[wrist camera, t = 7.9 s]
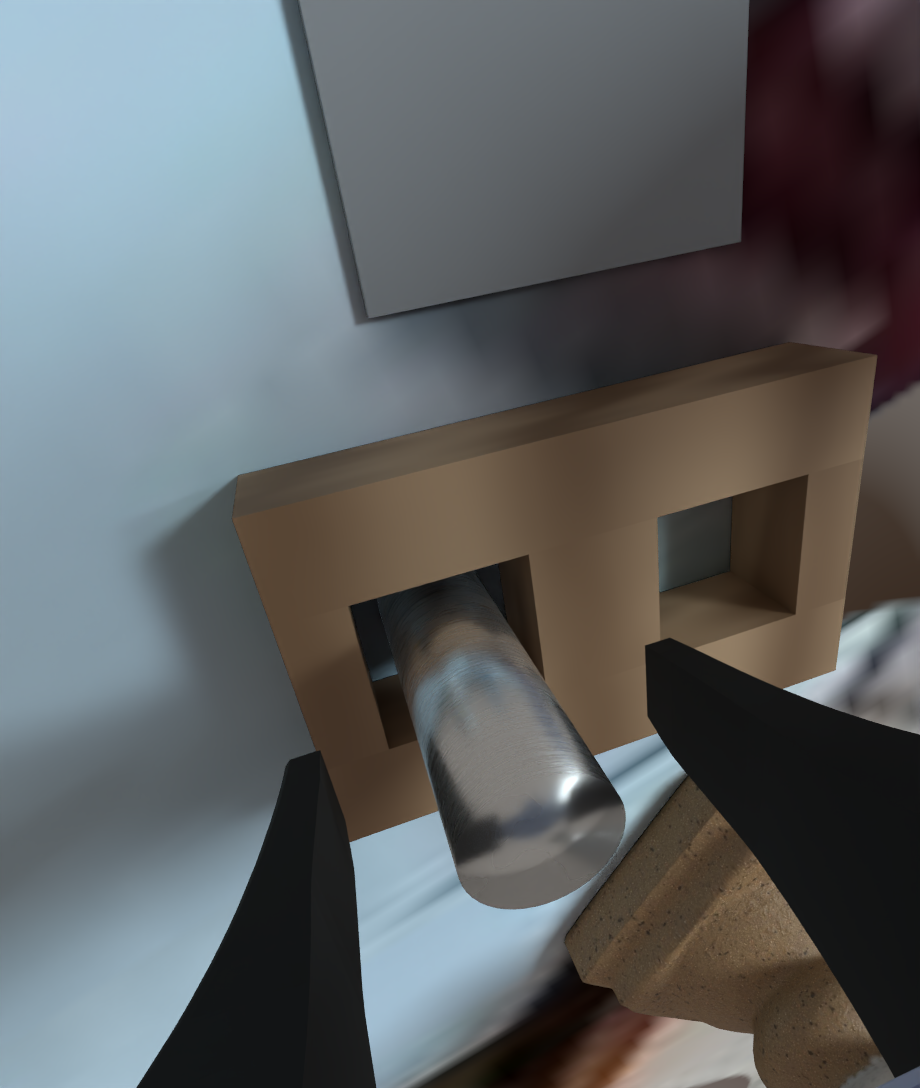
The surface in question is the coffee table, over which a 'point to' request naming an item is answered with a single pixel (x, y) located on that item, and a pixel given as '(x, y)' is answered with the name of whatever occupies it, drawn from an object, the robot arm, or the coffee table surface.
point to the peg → (498, 749)
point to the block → (568, 547)
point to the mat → (528, 137)
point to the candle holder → (721, 951)
